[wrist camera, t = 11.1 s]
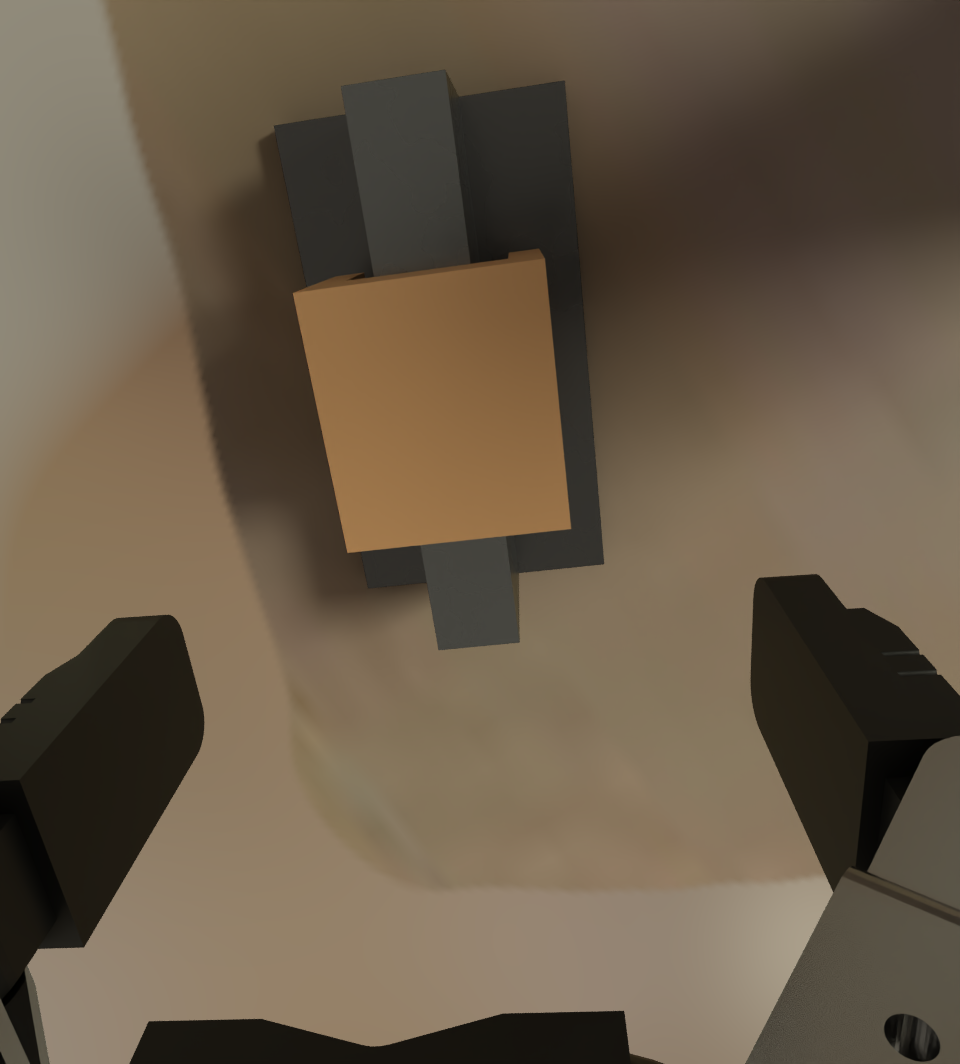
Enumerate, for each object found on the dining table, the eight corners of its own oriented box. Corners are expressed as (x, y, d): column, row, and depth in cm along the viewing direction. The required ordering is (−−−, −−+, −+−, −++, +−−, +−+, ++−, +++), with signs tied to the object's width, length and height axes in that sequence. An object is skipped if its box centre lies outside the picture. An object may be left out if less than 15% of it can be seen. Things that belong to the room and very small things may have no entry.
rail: (280, 128, 26) (215, 105, 20) (562, 84, 25) (577, 48, 19) (371, 579, 31) (340, 659, 26) (601, 555, 31) (621, 632, 25)
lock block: (561, 472, 26) (571, 529, 22) (376, 493, 27) (347, 552, 22) (538, 248, 24) (544, 258, 19) (335, 276, 24) (292, 292, 20)
